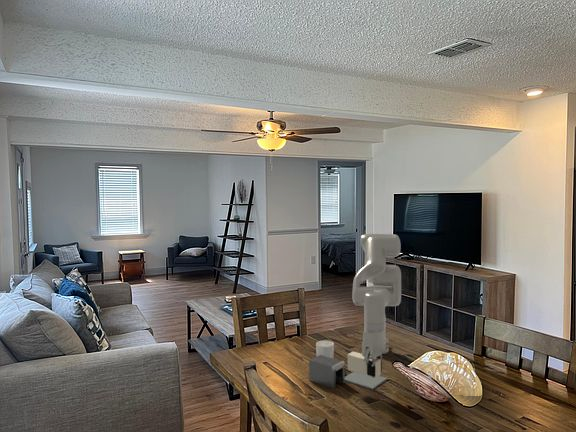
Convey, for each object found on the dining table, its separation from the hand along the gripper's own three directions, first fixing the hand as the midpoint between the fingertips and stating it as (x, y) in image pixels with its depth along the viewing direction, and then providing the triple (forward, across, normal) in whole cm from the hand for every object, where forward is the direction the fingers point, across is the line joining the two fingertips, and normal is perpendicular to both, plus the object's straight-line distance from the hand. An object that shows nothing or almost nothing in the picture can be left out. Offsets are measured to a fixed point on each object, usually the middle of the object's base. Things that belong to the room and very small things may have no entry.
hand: (374, 372), depth 163 cm
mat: (+9, -10, -10) cm, 17 cm away
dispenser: (+9, +1, -21) cm, 23 cm away
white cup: (+10, -12, -31) cm, 35 cm away
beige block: (+1, 0, -4) cm, 5 cm away
